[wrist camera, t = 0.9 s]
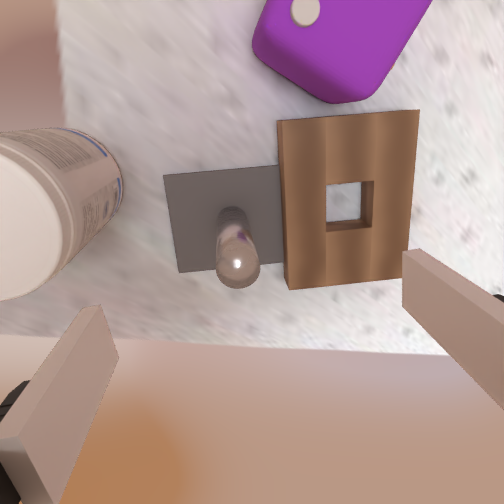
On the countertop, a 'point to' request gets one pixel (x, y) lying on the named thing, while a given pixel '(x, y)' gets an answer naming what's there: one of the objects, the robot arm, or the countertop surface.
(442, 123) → the countertop surface
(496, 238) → the countertop surface
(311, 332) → the countertop surface
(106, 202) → the supplement tub
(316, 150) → the socket block
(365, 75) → the toy camera
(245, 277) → the peg
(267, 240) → the mat
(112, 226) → the countertop surface
